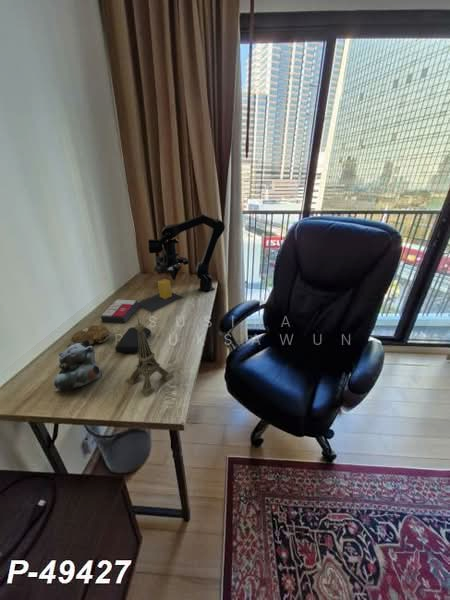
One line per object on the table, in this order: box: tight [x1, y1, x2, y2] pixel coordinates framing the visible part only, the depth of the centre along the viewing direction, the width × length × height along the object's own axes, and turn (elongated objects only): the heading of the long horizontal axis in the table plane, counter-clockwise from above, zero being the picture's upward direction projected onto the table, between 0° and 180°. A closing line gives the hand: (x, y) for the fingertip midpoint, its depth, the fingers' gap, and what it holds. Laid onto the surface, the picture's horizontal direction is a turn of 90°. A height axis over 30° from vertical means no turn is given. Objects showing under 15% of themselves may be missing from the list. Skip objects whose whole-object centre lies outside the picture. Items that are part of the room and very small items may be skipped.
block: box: [157, 278, 173, 299], centre depth 132 cm, size 4×4×9 cm
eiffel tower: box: [127, 315, 175, 397], centre depth 76 cm, size 11×11×25 cm
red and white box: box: [100, 299, 139, 324], centre depth 119 cm, size 11×4×15 cm
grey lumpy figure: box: [53, 340, 103, 393], centre depth 80 cm, size 15×12×14 cm
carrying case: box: [114, 326, 152, 354], centre depth 99 cm, size 11×3×15 cm
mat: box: [138, 292, 184, 313], centre depth 130 cm, size 20×14×1 cm
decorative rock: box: [70, 324, 111, 345], centre depth 102 cm, size 11×4×15 cm
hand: (174, 279), depth 135 cm, fingers closed
